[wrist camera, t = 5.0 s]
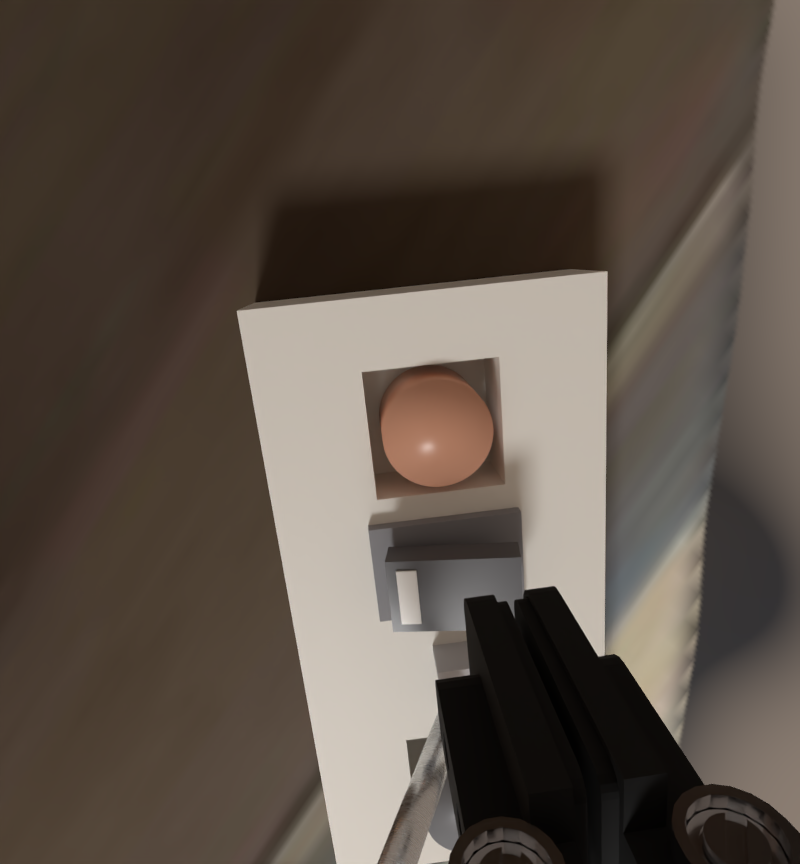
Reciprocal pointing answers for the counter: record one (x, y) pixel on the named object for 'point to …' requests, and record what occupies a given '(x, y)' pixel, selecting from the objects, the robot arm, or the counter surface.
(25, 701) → the counter surface
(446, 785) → the charcoal button
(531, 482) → the control panel
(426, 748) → the toggle lever
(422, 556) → the black rocker
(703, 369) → the counter surface
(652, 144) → the counter surface
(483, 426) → the terracotta button
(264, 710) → the counter surface
